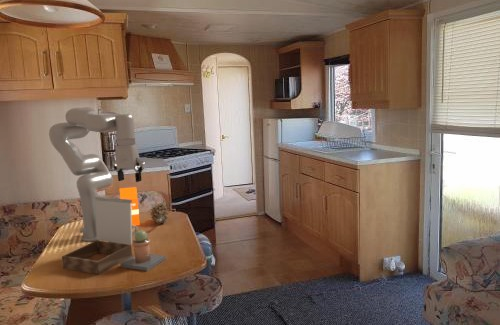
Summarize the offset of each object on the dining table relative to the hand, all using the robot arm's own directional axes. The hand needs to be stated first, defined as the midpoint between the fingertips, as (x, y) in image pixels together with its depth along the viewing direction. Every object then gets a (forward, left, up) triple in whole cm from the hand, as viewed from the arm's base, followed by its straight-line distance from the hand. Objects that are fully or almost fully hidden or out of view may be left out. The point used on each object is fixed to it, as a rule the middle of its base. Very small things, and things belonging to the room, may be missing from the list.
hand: (129, 180), depth 181 cm
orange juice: (-25, +27, -31) cm, 48 cm away
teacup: (-8, +1, -31) cm, 32 cm away
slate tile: (+16, -15, -30) cm, 37 cm away
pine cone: (-9, +31, -31) cm, 44 cm away
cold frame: (-3, -20, -30) cm, 36 cm away
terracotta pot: (+16, -15, -29) cm, 36 cm away
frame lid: (-3, -10, -16) cm, 18 cm away
